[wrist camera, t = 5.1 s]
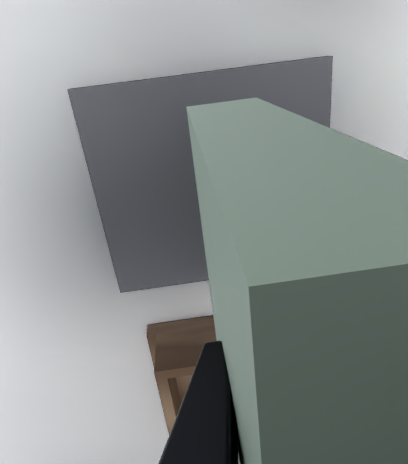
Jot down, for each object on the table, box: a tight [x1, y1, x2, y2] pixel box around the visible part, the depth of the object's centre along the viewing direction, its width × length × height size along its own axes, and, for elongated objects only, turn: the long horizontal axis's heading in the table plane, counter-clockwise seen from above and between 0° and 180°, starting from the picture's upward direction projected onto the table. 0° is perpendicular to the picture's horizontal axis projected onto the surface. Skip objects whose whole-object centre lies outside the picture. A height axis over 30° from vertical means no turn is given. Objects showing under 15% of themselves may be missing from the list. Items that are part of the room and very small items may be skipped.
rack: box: [147, 316, 217, 435], centre depth 24 cm, size 14×12×4 cm
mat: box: [68, 56, 333, 293], centre depth 19 cm, size 11×12×1 cm
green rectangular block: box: [186, 97, 408, 464], centre depth 8 cm, size 10×2×9 cm, turn 7°
